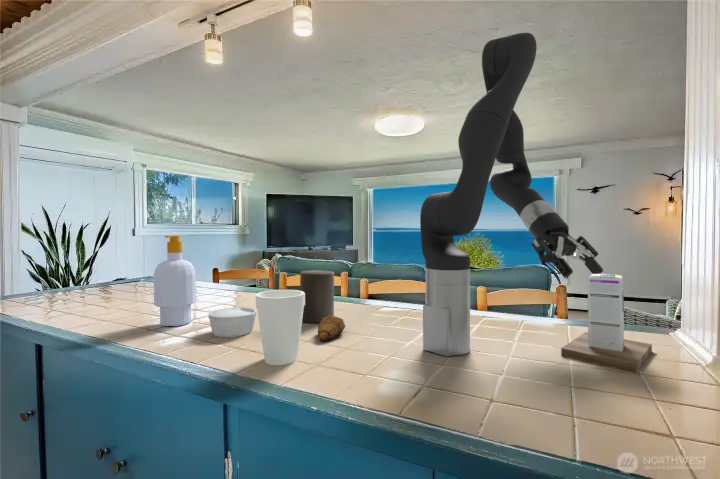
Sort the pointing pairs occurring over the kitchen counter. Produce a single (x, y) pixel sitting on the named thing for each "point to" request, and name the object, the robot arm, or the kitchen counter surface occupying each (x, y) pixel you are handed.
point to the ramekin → (232, 321)
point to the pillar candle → (317, 295)
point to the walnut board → (609, 353)
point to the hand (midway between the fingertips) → (584, 274)
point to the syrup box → (606, 312)
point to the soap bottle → (174, 286)
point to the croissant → (330, 327)
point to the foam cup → (280, 324)
